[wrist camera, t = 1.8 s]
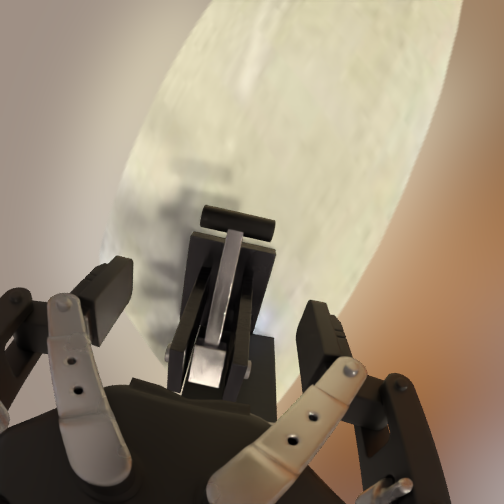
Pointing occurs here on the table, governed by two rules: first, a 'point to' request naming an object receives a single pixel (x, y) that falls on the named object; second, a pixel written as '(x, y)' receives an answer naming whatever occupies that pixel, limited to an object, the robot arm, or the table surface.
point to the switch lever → (223, 288)
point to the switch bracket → (238, 312)
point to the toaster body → (252, 389)
